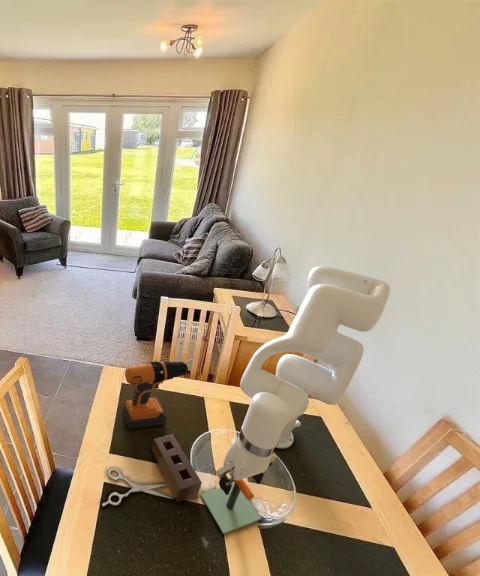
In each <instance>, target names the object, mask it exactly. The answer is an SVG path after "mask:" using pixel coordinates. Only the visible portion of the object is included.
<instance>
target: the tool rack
mask: <svg viewBox="0 0 480 576" xmlns="http://www.w3.org/2000/svg"><path fill="white" fill-rule="evenodd" d="M151 447H152V448H151V453H152V455H153V457H154V459H155V461H156V463H157V465H158V467H159V469H160V471H161V473H162V475H163V477H164V479H165V481H166V484H169V485H168V487H169V489H170V491H171V492H172V495H173V496H174V500H176V503H180V502H182V501H186V500H188V499H191V498H195V497H197V496H199V494H200V491H201V490H200V489H201V487H202V484H203V482H202V480H201V479H200V477H199V475H198V474H197V472H196V471H195V468H194V467H193V465H192V463H191V462H190V460H189V459H188V457H187V455H186V453H185V452H184V451H183V449H182V447H181V445H180V444H179V442H178V440H177V439H176V437H175V435H174V434H173V433H172V434H168V435H165V436H161V437H156V438H154V439H153V442H152V446H151Z"/></svg>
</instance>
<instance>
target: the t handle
mask: <svg viewBox="0 0 480 576" xmlns="http://www.w3.org/2000/svg"><path fill="white" fill-rule="evenodd" d="M232 471H233V470H232ZM227 474H229V476H230V478H231V477H232V476H231V474H230V473H229V472H228V473H227ZM233 483H234V486H233V488H232V491H231V494H230V496H229V499H228V501H227V504H226V506H227V508H228V509H230V510H232V509H233V507H234V505H235V503H236V500H237V498H238V495H239V493H240V491H242V493H243V494H244V496H245V497H246V499H247V500H249V501H250V500H252V499H254V497H255V494H254V493H253V491H252V490H251V488H250V487H249V485H248V484H247V483H246V482H245V481H244V479H242V480H235V481H234V482H233Z"/></svg>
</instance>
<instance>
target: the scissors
mask: <svg viewBox="0 0 480 576" xmlns="http://www.w3.org/2000/svg"><path fill="white" fill-rule="evenodd" d="M112 471H113V472H116V473H117V475H118V476H113V475H112V474H111V472H112ZM107 473H108V477H109V478H110V479H112V480H113V481H117V480H123V481H125V483H127V484H128V485H129V486H130V487H131V489H129V490H128V491H127V492H126V493H124V494H122V493H121V494H120V493H119V492H117V491H114V492H112V493H110V495H109V496H108V500H107V501H106V502H103V503H102V504H101V505H102V506H101V507H103V508H104V507H106V506H107V505H112V506H118V505H120V504H121V502H122V499H124V497H128V496H129V494H130V493H139V492H143V493H147V494H150V495H154V496H158V497H162V498H167V499H171V500H174V498H173V497H170V496H167V495H165V494H162V493H160V492H157V491H156V490H153V489H157V488H161V487H166V486H169V484H168V483H165V484H164V483H163V484H144V485H141V484H138V483H134V482H132V481H129V480H128V478H127V477H124V476H123V475H122V474H121V471H119V470H118V469H117V468H110V469H108V472H107ZM113 496H115V497H116V496H117V497H118V501H117V502H114V501H112V500H111V498H112V497H113Z"/></svg>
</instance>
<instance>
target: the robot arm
mask: <svg viewBox="0 0 480 576" xmlns="http://www.w3.org/2000/svg"><path fill="white" fill-rule="evenodd" d="M306 282H307V283H306V284H307V293H306V295H305V297H304V299H303V300H302V303H301V305H300V307H299V309H298V311H297V313H296V315H295V317H294V319H293V321H292V323H291V324H290V327H289V329H288V331H287V332H286V334H284V335H282V336H280V337H275V338H274V339H272V340H270V341H267V342H266V343H264V344H263V345H261V346H260V347H259V348H258V349H257V350H256V351H255V352H254V354H253V355H252V357H251V358H250V360H249V362H248V364H247V366H246V368H245V370H244V372H243V374H242V375H241V379H240V382H239V388H240V391H242V393H243V394H245V396H247V397H248V398H251V401H250V403H249V406H248V409H247V412H246V415H245V417H244V420H243V423H242V426H241V429H240V431H239V434H238V437H237V438H235V440H234V441H233V443H232V444H231V445H230V447H229V448H228V451H227V452H226V455H225V457H224V460H223V466H222V467H220V468H219V469H217V470H216V471H215V473H216V476H217V477H218V479H219V481H218V485H219V488H221V489H222V490H223V491H224V493H225V494H226V495H228V494H229V492H230V490H231V487H232V483H235V480H242V479H243V480H244V479H247V478H252V480H253V481H254V482H255V483H256V484H257V485H259V484H261V483H262V481H263V478H264V477H265V474H266V473H267V472H268V468H270V467H271V466H273V462H274V461H275V460H276V459H277V458H278V456H277V455H276V453H275V450H276V449H288V448H290V447H291V446H292V445H293V443H294V440H295V438H294V434H293V430H295V429H296V428H299V427H301V426H302V423H301V421H300V420H298V419H299V417H301V416H302V415H303V414H305V412H306V411H307V409H308V407H309V405H310V397H311V398H313V399H315V400H317V401H319V402H322V403H324V404H327V405H331V406H335V405H337V404H339V403H340V402H341V401H342V399H343V398H344V396H345V394H346V392H347V390H348V388H349V387H350V384H351V382H352V380H353V378H354V376H355V374H356V372H357V370H358V369H359V366H360V364H361V361H362V359H363V356H364V352H365V351H364V346H363V345H364V344H362V342H361V341H359V340H358V339H356V338H354V337H351V336H349V335H346V334H342V333H341V332H339V331H338V329H339V327H340V325H341V326H344V327H347V328H349V329H352V330H355V331H358V332H360V333H365V332H369V331H371V330H372V329H373V328H374V327H375V326H376V325H377V323H378V322H379V320H380V318H381V316H382V314H383V313H384V310H385V307H386V305H387V302H388V299H389V297H390V292H391V288H390V285H389V284H388V282H387V281H384V280H382V279H379V278H374V277H371V276H367V275H363V274H359V273H356V272H352V271H350V270H345V269H341V268H337V267H333V266H332V267H331V266H326V265H318V266H314V267H313V268H311V269H310V271H309V273H308V276H307V281H306ZM280 353H287V354H284V355H282V356H281V357H280V358H279V360H278V361H277V364H276V369H275V374H273V373H271V372H269V371H267V370H265V369H263V365H264V364H265V362H266V361H267V360H268V359H269V358H270V357H271V356H273V355H276V354H280ZM292 353H293V354H292ZM294 353H300V354H303V355H305V356H307V357H310V358H312V359H314V360H317V361H319V362H321V363H324V364H326V365H328V366H330V367H331V368H332V369H330V368H328V367H326V366H324V365H321V364H318V363H317V362H314V361H313V360H310V359H307V358H305V357H303V356H300V355H297V354H294ZM232 470H233V471H232ZM228 472H229V473H230V474H231V476H232V477H231V476H230V478H229V477H228V476H227V474H229V473H228ZM230 474H229V475H230Z"/></svg>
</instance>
